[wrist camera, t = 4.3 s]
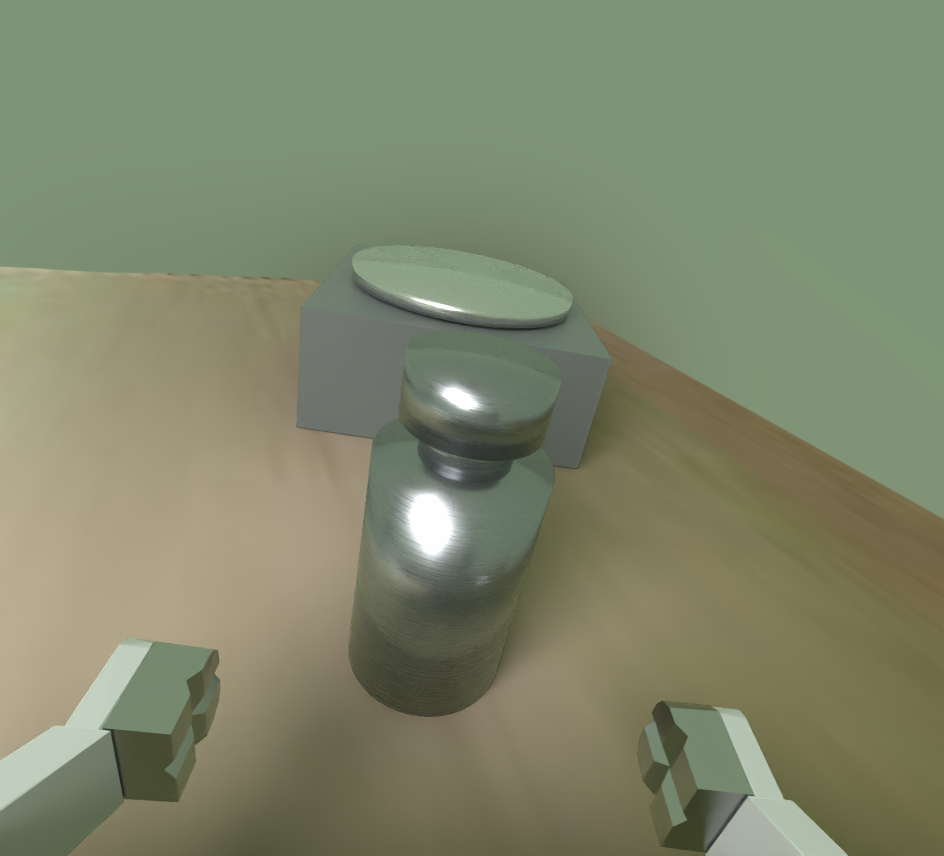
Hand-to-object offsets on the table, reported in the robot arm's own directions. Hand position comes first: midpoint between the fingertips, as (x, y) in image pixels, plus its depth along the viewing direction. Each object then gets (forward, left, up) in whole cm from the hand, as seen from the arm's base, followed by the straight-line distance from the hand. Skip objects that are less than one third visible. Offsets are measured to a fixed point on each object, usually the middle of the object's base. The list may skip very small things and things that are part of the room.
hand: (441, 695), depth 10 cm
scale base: (0, +24, -5) cm, 25 cm away
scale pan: (0, +24, +1) cm, 24 cm away
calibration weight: (0, +5, -5) cm, 7 cm away
